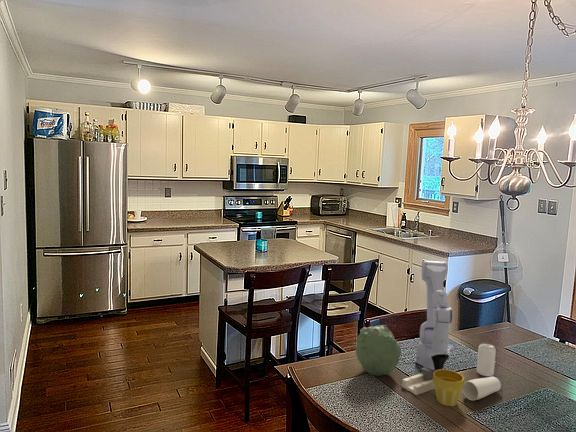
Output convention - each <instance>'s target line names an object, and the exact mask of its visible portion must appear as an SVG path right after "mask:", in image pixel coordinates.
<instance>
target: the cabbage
mask: <svg viewBox="0 0 576 432" xmlns="http://www.w3.org/2000/svg"><path fill="white" fill-rule="evenodd" d="M359 332H360V333H359V334H358V335H356V346H355V355H356V359H357V361H358V363H360V365H361V366H362V368H363V369H364V371H365V372H367V373H369V374H371V375H372V376H376V377H377V376H378V377H381V376H384V375H389V374H391V372H392V371H393V372H394V370H395V369H396V367H397V365H398V364H399V361H400V358H401V352H402V350H401V349H402V348H401V345H400V344H399V342H397V341H398V340H396V339H395V337H394V334H393V332H392V331H391V330H390V328H389V327H388V326H387V325H386V324H377V325H375V326H374V325H371V326H368V327H365V326H364V327H362V328H360V330H359Z"/></svg>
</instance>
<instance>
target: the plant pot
mask: <svg viewBox="0 0 576 432" xmlns="http://www.w3.org/2000/svg"><path fill="white" fill-rule="evenodd" d="M433 383H434V385H435V389H434V390H435V395H436V396H435V397H436V401H437V402H438V403H439V404H441V405H442V406H447V407H454V406H456V405H457V404H458V399H459V398H460V394H461V391H463V387H464V383H465V377H464V375H462V374H461V373H459V372H457V371H455V370H451V369H445V368H443V369H439V370H436V371H435V370H434V373H433Z"/></svg>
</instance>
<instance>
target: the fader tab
mask: <svg viewBox="0 0 576 432" xmlns="http://www.w3.org/2000/svg"><path fill="white" fill-rule="evenodd" d="M420 369H421V370H420V371H421V372H420V373H421V374H423V375H424V379H423V380H425V381H428V380H431V379H433V373H434V371H435V369H434V370H432V369H430V368H428V367H424V366H423V367H421V368H420Z"/></svg>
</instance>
